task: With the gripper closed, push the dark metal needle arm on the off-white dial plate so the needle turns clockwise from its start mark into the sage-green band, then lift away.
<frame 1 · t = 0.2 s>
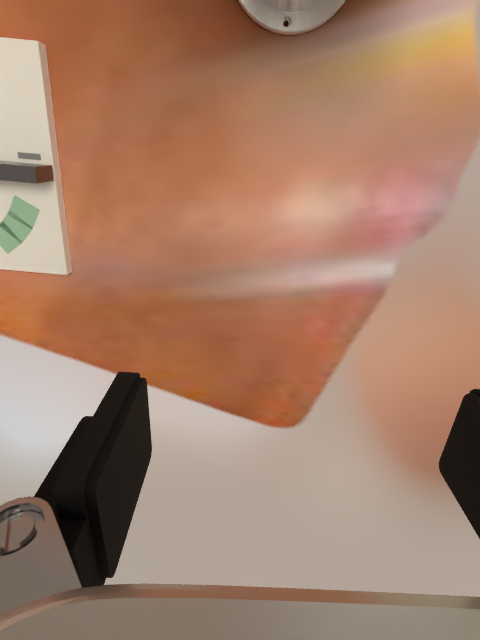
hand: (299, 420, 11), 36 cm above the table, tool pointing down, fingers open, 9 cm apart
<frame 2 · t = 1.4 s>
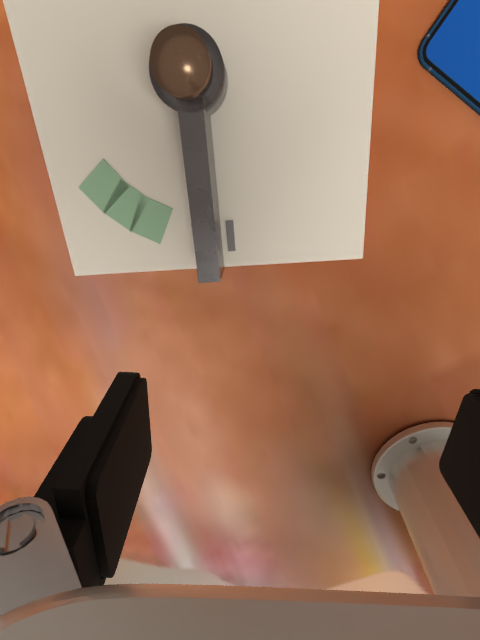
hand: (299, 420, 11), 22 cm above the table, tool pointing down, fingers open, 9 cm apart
dial plate: (202, 118, 27), on the table
needle: (198, 169, 24), point 5 cm above the table, hinge at 0.0°
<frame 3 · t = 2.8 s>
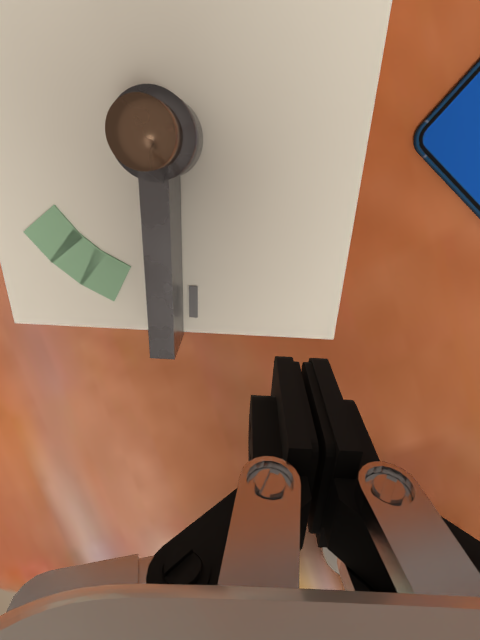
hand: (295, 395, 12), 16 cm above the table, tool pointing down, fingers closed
dial plate: (173, 172, 24), on the table
needle: (159, 239, 21), point 5 cm above the table, hinge at 0.0°
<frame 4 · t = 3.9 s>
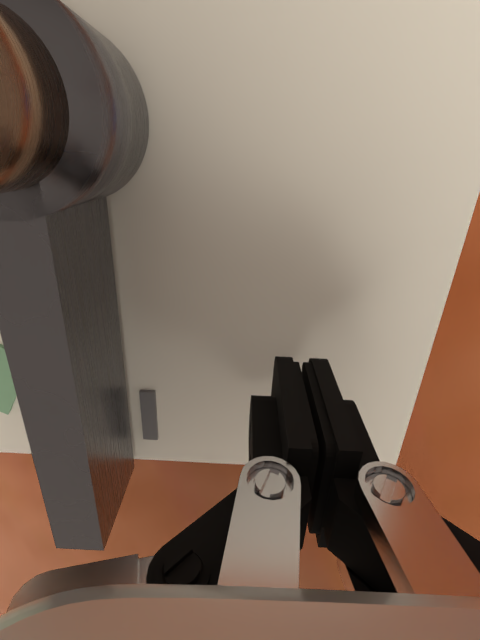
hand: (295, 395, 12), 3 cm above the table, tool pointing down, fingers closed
dial plate: (102, 187, 13), on the table
needle: (53, 338, 10), point 5 cm above the table, hinge at 0.0°
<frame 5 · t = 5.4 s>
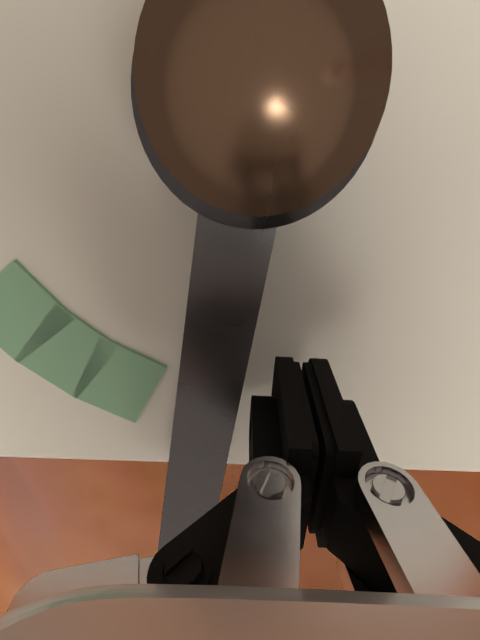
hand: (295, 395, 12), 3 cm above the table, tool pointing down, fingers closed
dial plate: (249, 189, 12), on the table
needle: (216, 345, 9), point 5 cm above the table, hinge at -8.2°, touching gripper
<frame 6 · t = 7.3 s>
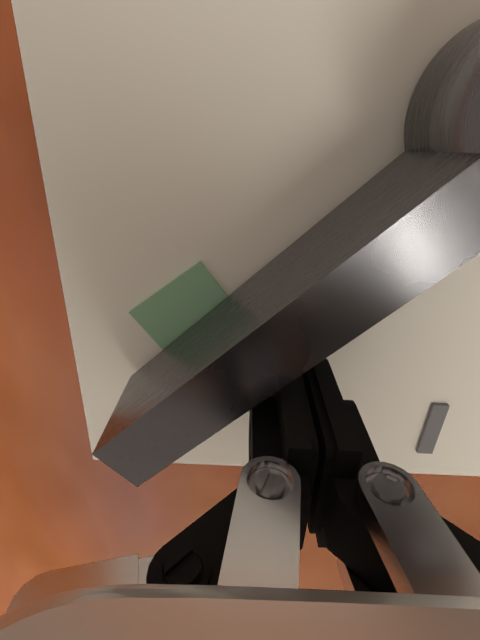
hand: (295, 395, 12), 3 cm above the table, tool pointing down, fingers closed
dial plate: (435, 192, 12), on the table
needle: (341, 287, 8), point 5 cm above the table, hinge at -46.1°, touching gripper
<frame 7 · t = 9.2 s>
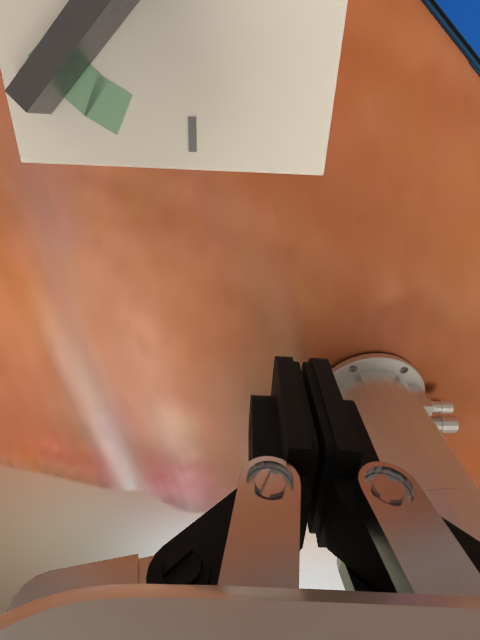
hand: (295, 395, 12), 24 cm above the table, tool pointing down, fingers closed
needle: (94, 4, 22), point 5 cm above the table, hinge at -46.2°
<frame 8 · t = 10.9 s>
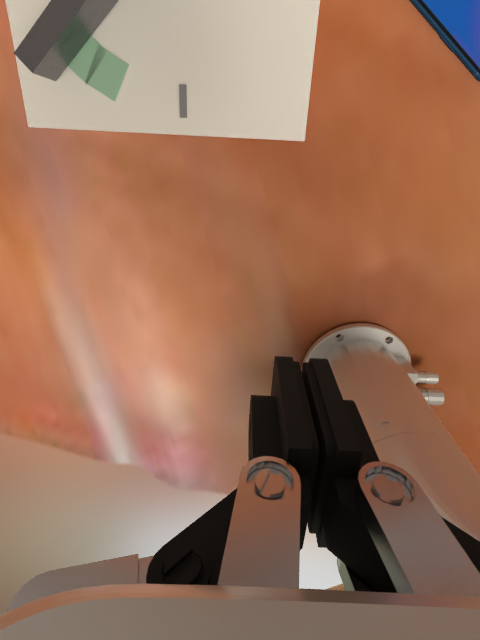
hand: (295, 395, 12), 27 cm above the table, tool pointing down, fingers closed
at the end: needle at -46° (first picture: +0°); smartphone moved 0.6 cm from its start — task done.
